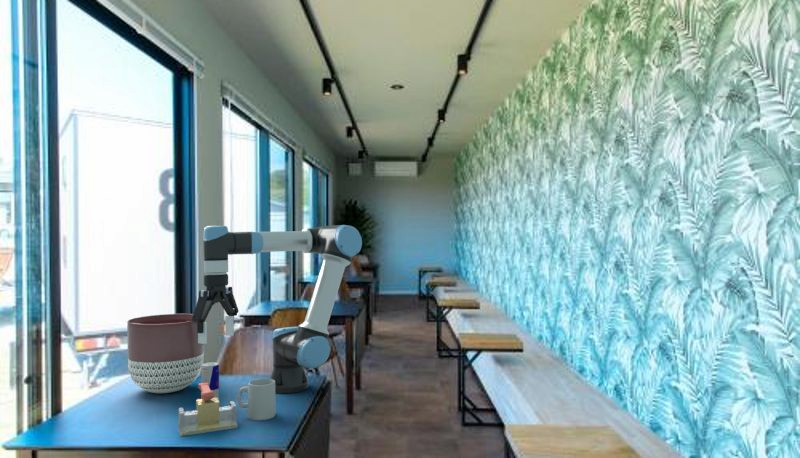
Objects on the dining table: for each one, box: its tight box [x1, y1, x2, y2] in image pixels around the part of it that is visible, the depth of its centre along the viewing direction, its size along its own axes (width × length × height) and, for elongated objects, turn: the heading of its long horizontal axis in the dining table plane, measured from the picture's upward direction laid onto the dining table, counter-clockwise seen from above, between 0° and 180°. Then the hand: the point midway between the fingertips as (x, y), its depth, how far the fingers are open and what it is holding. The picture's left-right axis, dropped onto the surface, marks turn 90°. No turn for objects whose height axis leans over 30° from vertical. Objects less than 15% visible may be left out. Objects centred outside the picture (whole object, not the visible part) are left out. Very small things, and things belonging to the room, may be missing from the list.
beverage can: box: [200, 361, 220, 401], centre depth 185 cm, size 6×6×15 cm
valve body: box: [177, 397, 238, 437], centre depth 166 cm, size 16×9×8 cm, turn 116°
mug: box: [237, 378, 276, 421], centre depth 176 cm, size 12×8×11 cm
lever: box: [198, 382, 214, 401], centre depth 171 cm, size 14×4×2 cm, turn 26°
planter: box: [126, 313, 205, 394], centre depth 206 cm, size 27×27×27 cm
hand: (216, 339), depth 177 cm, fingers open, 13 cm apart
